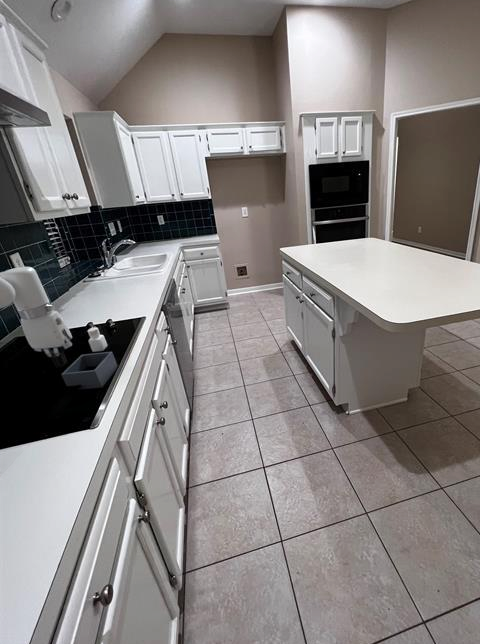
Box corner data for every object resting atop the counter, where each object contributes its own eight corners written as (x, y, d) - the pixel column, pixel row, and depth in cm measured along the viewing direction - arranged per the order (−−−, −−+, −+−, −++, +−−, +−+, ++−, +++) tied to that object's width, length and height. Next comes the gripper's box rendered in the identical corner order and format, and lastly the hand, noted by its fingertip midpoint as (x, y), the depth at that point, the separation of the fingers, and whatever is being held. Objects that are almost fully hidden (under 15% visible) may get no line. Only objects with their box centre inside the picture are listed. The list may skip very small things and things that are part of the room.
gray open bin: (61, 374, 92) (95, 371, 92) (81, 354, 102) (112, 351, 102) (69, 390, 95) (102, 387, 95) (88, 370, 105) (118, 366, 105)
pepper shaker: (109, 349, 117) (100, 326, 113) (104, 354, 113) (95, 331, 109) (98, 350, 117) (89, 327, 113) (93, 355, 113) (83, 332, 109)
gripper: (70, 303, 93) (92, 356, 101) (19, 308, 93) (45, 360, 101) (54, 313, 86) (79, 369, 94) (-1, 319, 86) (29, 374, 94)
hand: (62, 364), depth 97 cm, fingers closed
